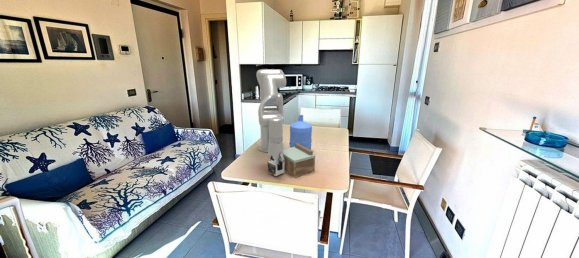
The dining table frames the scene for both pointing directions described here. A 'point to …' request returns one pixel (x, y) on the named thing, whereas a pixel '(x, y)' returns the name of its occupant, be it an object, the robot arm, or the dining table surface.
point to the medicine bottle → (274, 167)
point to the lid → (298, 153)
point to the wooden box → (299, 167)
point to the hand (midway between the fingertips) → (276, 166)
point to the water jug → (301, 133)
